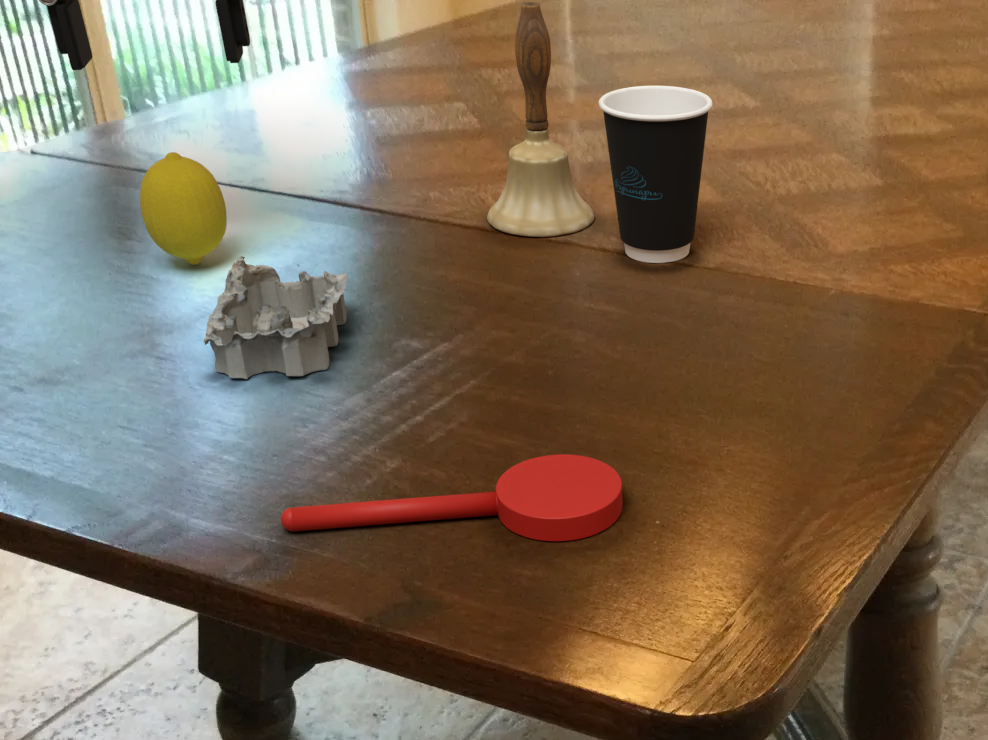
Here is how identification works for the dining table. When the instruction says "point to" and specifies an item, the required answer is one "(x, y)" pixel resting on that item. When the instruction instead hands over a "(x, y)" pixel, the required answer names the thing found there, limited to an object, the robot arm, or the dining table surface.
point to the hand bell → (537, 151)
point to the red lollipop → (498, 502)
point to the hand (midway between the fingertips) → (159, 61)
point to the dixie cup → (656, 166)
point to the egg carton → (275, 321)
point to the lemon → (183, 208)
